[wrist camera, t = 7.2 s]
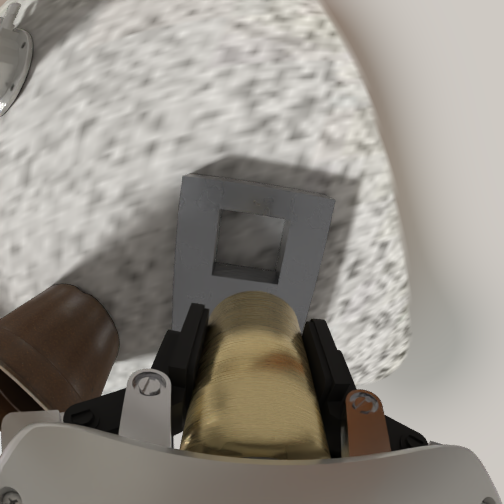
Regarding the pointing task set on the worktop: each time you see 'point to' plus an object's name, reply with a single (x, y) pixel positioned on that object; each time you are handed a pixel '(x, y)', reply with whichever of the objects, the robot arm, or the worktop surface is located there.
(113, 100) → the worktop surface
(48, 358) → the plant pot
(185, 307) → the jig
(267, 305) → the brass cylinder
